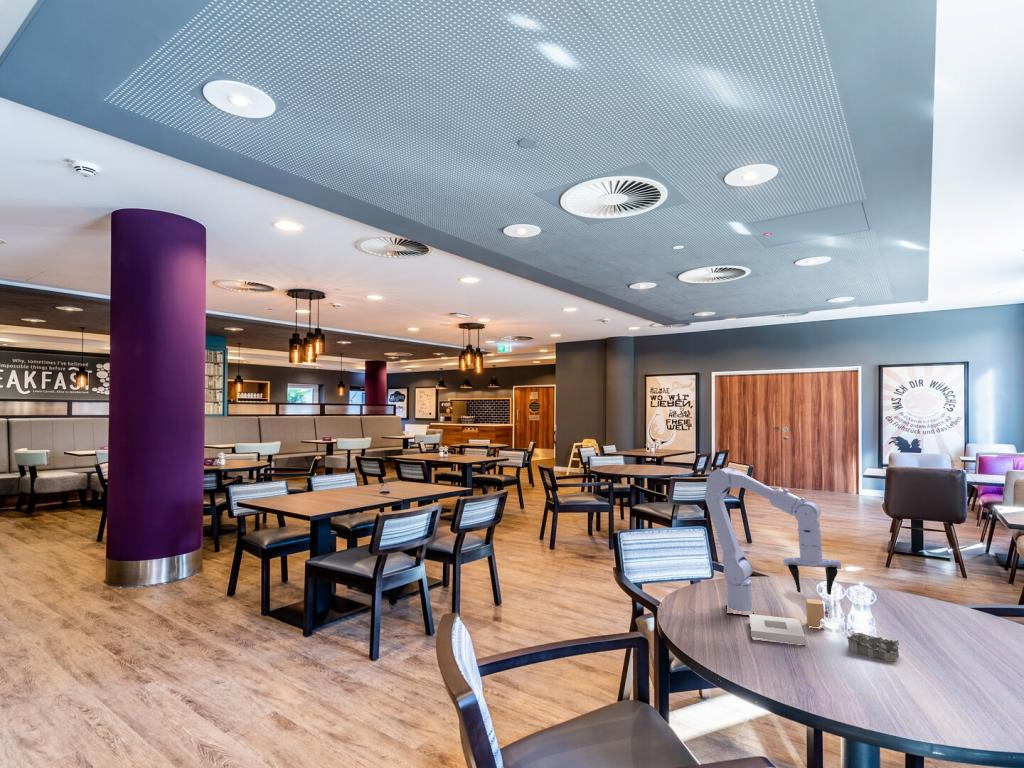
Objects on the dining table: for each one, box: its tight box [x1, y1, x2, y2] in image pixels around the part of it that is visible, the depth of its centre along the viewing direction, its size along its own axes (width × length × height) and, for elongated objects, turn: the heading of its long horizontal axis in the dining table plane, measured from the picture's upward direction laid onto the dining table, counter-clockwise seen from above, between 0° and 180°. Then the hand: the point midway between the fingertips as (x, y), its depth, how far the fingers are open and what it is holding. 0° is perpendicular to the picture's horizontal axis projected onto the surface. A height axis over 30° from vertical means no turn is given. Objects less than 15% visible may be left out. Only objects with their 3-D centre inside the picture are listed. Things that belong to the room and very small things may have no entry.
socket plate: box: [748, 613, 806, 646], centre depth 153 cm, size 13×13×2 cm
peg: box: [805, 598, 825, 627], centre depth 158 cm, size 4×4×7 cm
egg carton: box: [846, 632, 900, 662], centre depth 140 cm, size 11×8×4 cm
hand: (813, 592), depth 158 cm, fingers open, 7 cm apart
